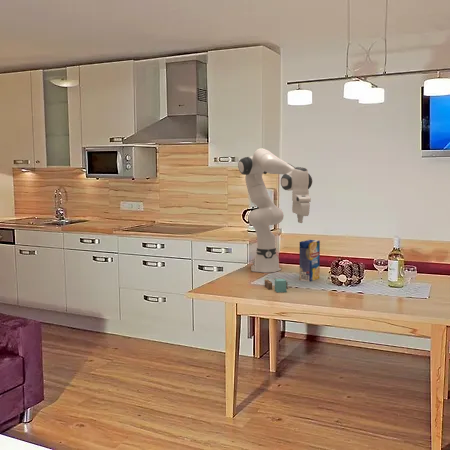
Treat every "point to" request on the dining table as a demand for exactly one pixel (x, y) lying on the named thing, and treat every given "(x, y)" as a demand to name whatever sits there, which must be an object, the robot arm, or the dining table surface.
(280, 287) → the block
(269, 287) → the chute
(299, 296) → the dining table surface
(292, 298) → the dining table surface
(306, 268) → the beverage box
